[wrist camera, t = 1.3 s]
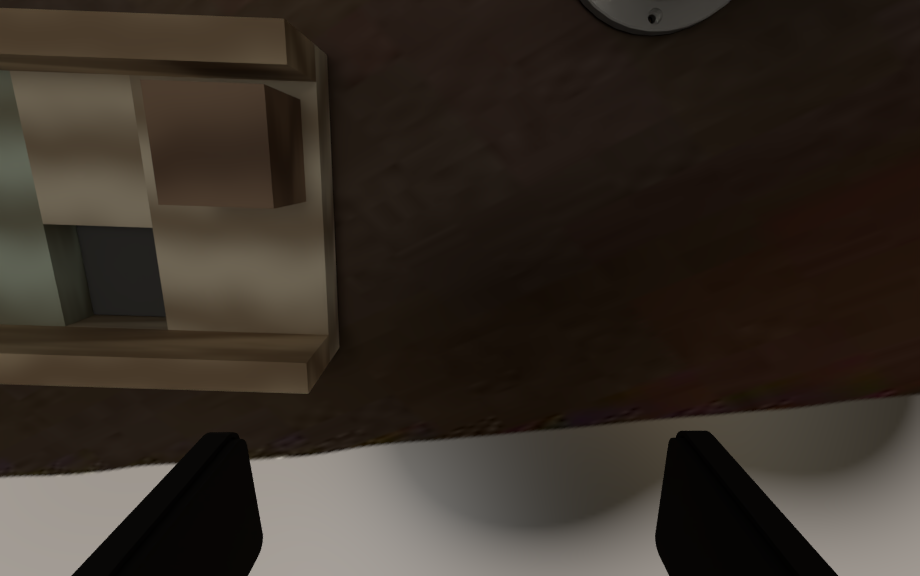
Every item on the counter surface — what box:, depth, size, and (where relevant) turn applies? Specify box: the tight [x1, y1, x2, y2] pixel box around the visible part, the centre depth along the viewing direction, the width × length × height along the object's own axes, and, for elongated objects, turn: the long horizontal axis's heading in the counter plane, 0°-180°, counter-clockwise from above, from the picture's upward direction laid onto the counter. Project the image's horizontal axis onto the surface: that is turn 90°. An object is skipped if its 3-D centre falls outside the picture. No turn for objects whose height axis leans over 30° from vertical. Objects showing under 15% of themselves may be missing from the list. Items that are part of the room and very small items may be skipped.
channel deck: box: [0, 8, 339, 394], centre depth 27 cm, size 20×28×7 cm
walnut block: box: [140, 79, 306, 209], centre depth 24 cm, size 6×6×5 cm
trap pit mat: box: [76, 225, 166, 317], centre depth 31 cm, size 7×7×1 cm
